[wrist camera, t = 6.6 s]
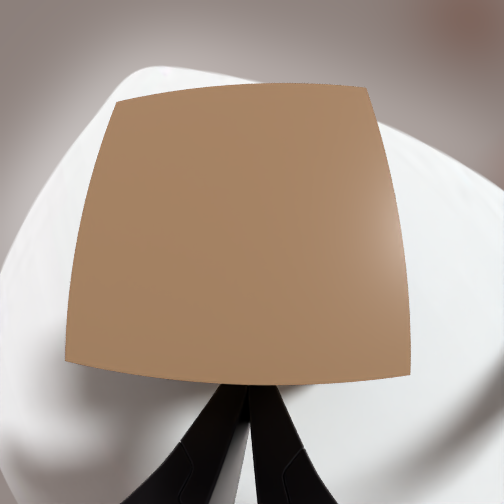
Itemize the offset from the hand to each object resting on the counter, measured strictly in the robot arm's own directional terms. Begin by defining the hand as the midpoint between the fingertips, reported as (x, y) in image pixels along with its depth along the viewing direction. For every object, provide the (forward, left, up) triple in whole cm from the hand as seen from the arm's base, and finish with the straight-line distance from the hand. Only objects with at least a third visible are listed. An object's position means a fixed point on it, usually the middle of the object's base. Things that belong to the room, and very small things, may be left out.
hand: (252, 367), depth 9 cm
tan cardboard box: (+1, -3, -7) cm, 7 cm away
